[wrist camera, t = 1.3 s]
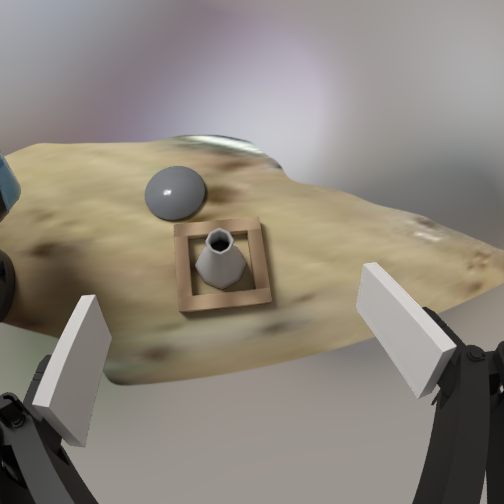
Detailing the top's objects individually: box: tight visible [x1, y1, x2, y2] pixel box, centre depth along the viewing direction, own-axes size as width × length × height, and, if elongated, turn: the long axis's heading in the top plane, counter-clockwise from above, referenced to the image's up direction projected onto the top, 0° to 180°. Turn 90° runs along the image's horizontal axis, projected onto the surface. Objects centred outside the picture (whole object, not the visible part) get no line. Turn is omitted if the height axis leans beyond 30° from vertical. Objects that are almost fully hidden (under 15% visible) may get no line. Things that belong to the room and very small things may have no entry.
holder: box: [174, 217, 272, 313], centre depth 43 cm, size 13×13×2 cm
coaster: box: [145, 166, 205, 220], centre depth 46 cm, size 10×10×1 cm
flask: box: [195, 228, 246, 290], centre depth 39 cm, size 7×7×10 cm
